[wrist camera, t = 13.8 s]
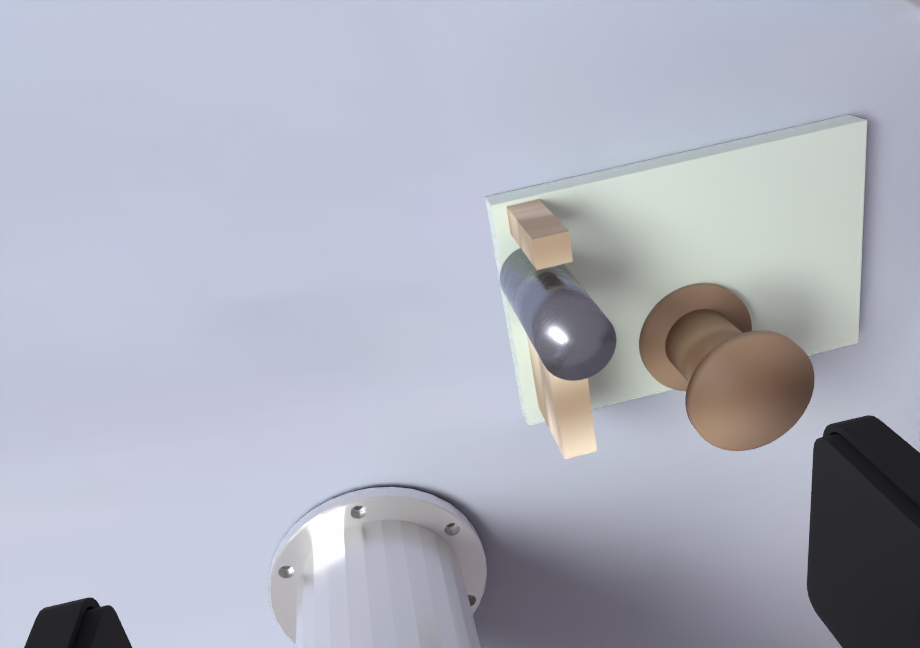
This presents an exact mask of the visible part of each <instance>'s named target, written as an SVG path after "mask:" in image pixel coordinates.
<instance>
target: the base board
mask: <svg viewBox="0 0 920 648" xmlns="http://www.w3.org/2000/svg"><path fill="white" fill-rule="evenodd" d="M866 138H867V120H865V119H862V118H859V117H855V116H852V115H845V116H841V117H836V118H832V119H827V120H823V121H818V122H814V123H810V124H805V125H801V126H796V127H792V128H788V129H783V130H779V131H774V132H770V133H765V134H761V135H757V136H752V137H748V138H743V139H739V140H735V141H730V142H726V143H721V144H717V145H713V146H708V147H704V148H699V149H695V150H690V151H686V152H682V153H677V154H673V155H668V156H664V157H660V158H655V159H651V160H646V161H642V162H637V163H633V164H629V165H624V166H620V167H615V168H611V169H607V170H602V171H598V172H593V173H589V174H584V175H580V176H576V177H571V178H567V179H562V180H558V181H554V182H549V183H545V184H540V185H536V186H531V187H527V188H523V189H518V190H514V191H509V192H505V193H501V194H496V195H492V196H487V197H485V200H486V206H487V212H488V218H489V224H490V229H491V235H492V241H493V247H494V253H495V259H496V264H497V270H498V276H499V282H500V271H501V268H502V266H503V263H504V262H505V260H506V259H507V258H508V256H509V255H510V254H511V253H513V252H514V251H515V250H517V249H519V248H520V246H519V245H518V243H517V242H516V241H515V239H514V238H513V237H512V235H511V233H510V227H509V221H508V215H507V208H506V206H510V205H514V204H519V203H523V202H527V201H532V200H536V199H539V200H540V201H541V202H542V203H543V204H544V205H545V206H546V207H547V208H548V209H549V210H550V211H551V212H552V214H553V215H554V216H555V217H556V218H557V219H558V220H559V221H560V222H561V223H562V224H563V225H564V226H565V227H566V228H567V229H568V231H569V235H570V243H571V251H572V258H573V262H570V263H565V266H566V267H567V268H568V269H569V271H570V272H571V273H572V274H573V276H574V277H575V278H576V279H577V281H578V282H579V283H580V284H581V286H582V287H583V288H584V289H585V291H586V292H587V293H588V294H589V296H590V297H591V298H592V299H593V301H594V302H595V303H596V304H597V306H598V307H599V308H600V309H601V311H602V312H603V313H604V314H605V316H606V317H607V318H608V319H609V321H610V322H611V323H612V325H613V327H614V329H615V332H616V348H615V351H614V354H613V356H612V358H611V360H610V361H609V363H608V364H607V365H606V366H605V367H604V368H603V369H602V370H601V371H600V372H598V373H597V374H595V375H593V376H591V377H589V378H588V384H589V392H590V400H591V408H592V410H593V409H597V408H601V407H605V406H609V405H613V404H617V403H621V402H625V401H629V400H633V399H637V398H641V397H645V396H649V395H653V394H658V393H662V392H666V391H670V390H674V389H671V388H668V387H666V386H664V385H662V384H661V383H659V382H658V381H657V380H656V379H655V378H654V377H653V376H652V375H651V374H650V373H649V371H648V370H647V369H646V367H645V366H644V364H643V362H642V359H641V356H640V351H639V338H640V333H641V329H642V326H643V324H644V321H645V319H646V318H647V316H648V314H649V313H650V311H651V310H652V309H653V308H654V306H655V305H656V304H657V303H658V302H659V301H660V300H661V299H662V298H664V297H665V296H667V295H668V294H669V293H671V292H673V291H675V290H676V289H679V288H681V287H684V286H687V285H690V284H696V283H711V284H716V285H719V286H722V287H724V288H726V289H728V290H729V291H731V292H732V293H733V294H734V295H736V296H737V297H738V298H739V299H740V300H741V301H742V302H743V303H744V304H745V306H746V308H747V309H748V312H749V314H750V318H751V323H752V331H759V330H763V331H772V332H777V333H779V334H782V335H784V336H786V337H788V338H789V339H791V340H792V341H793V342H794V343H796V344H797V345H798V346H799V347H801V348H802V349H803V350H804V351H805V353H806V354H807V355H808V356H810V355H814V354H818V353H822V352H826V351H830V350H834V349H838V348H842V347H846V346H850V345H854V344H858V336H859V311H860V286H861V262H862V237H863V212H864V187H865V163H866ZM500 288H501V285H500ZM501 294H502V299H503V305H504V311H505V317H506V323H507V329H508V334H509V340H510V346H511V352H512V358H513V364H514V369H515V375H516V381H517V387H518V393H519V398H520V404H521V410H522V413H523V415H524V418H525V420H526V422H527V424H528V426H529V425H533V424H537V423H541V422H545V419H544V417H543V415H542V413H541V411H540V409H539V407H538V402H537V395H536V389H535V383H534V377H533V370H532V364H531V358H530V352H529V346H528V339H527V334H526V332H525V330H524V328H523V326H522V325H521V323H520V321H519V319H518V317H517V316H516V314H515V312H514V310H513V308H512V307H511V305H510V303H509V301H508V299H507V298H506V296H505V294H504V292H503V290H502V288H501Z"/></svg>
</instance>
